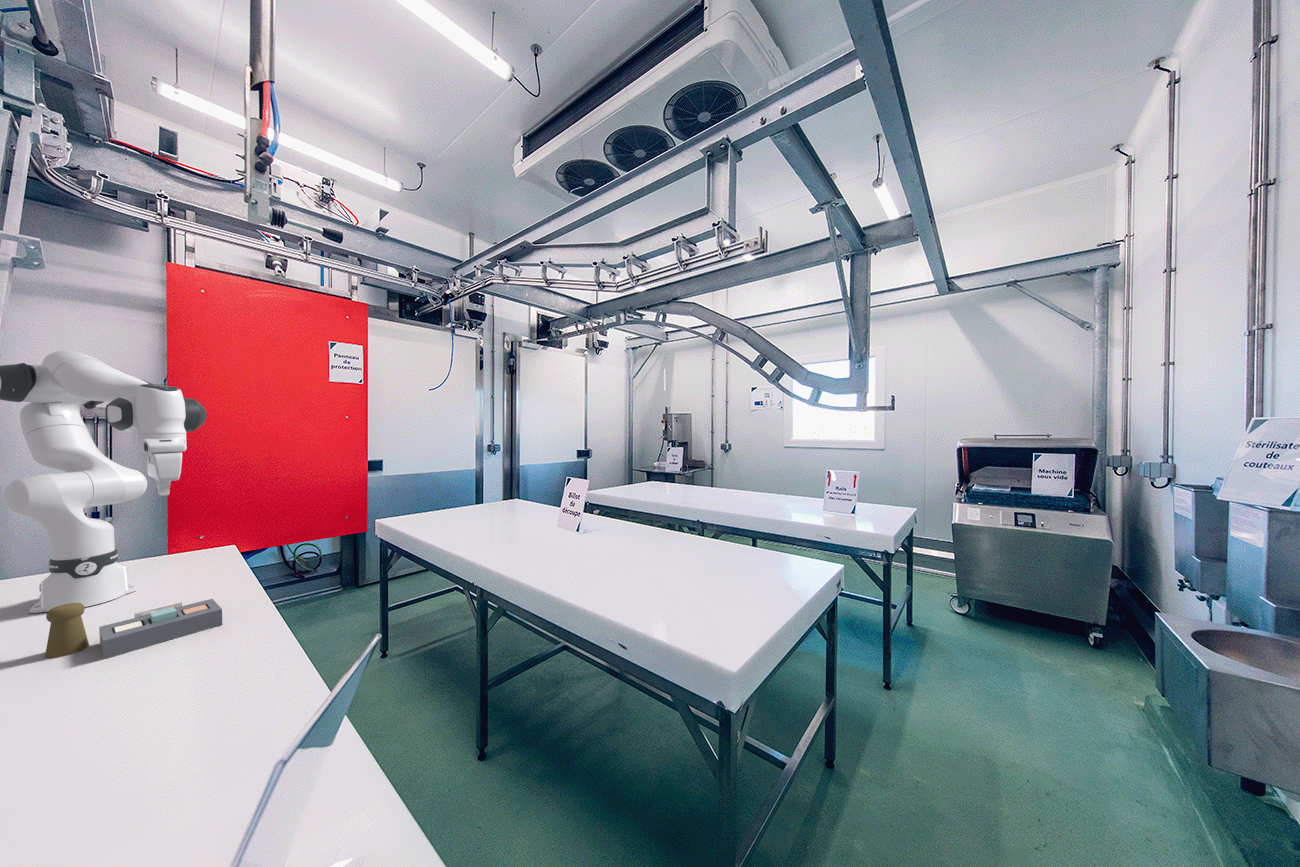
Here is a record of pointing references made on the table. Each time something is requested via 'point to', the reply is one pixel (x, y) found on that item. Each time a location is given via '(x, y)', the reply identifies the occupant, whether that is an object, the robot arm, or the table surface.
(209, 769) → the table surface
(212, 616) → the keypad
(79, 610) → the cork
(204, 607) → the terracotta key
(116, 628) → the cream key
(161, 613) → the teal key
